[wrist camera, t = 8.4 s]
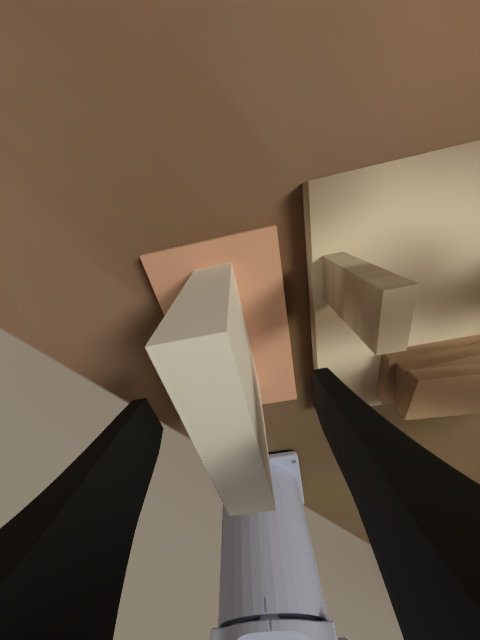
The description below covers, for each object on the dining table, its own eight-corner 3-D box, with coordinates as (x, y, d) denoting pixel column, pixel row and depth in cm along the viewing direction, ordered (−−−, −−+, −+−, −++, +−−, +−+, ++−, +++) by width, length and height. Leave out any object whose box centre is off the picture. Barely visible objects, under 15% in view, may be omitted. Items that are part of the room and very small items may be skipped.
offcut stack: (465, 382, 15) (504, 411, 13) (376, 395, 15) (398, 426, 13) (484, 331, 13) (533, 355, 11) (381, 348, 13) (409, 375, 11)
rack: (506, 373, 16) (642, 456, 11) (315, 403, 17) (351, 492, 12) (637, 103, 9) (1213, -44, 4) (302, 183, 10) (375, 158, 5)
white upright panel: (231, 262, 11) (226, 331, 5) (259, 387, 15) (276, 510, 9) (194, 270, 11) (144, 346, 5) (232, 391, 15) (229, 515, 9)
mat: (294, 392, 16) (296, 398, 16) (206, 407, 17) (205, 413, 16) (274, 224, 11) (276, 225, 10) (143, 254, 11) (139, 256, 11)
